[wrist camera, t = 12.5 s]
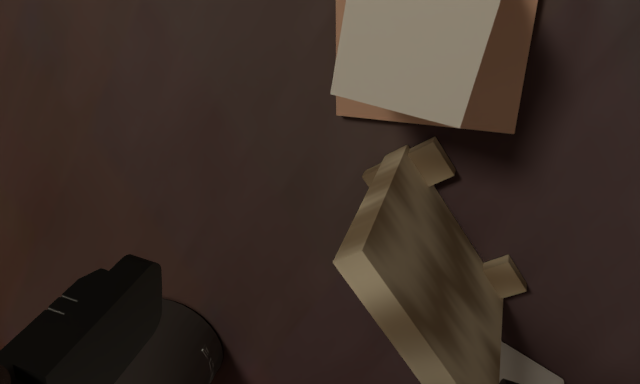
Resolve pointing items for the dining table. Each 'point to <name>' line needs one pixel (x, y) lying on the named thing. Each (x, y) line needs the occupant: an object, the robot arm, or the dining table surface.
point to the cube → (413, 55)
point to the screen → (426, 272)
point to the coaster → (492, 78)
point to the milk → (524, 368)
